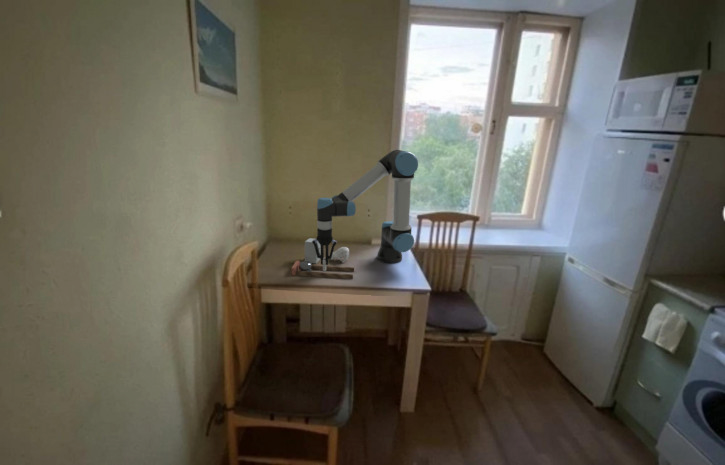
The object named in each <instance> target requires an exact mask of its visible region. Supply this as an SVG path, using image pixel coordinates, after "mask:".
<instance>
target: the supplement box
mask: <svg viewBox="0 0 725 465" xmlns="http://www.w3.org/2000/svg"><path fill="white" fill-rule="evenodd" d="M315 239H316V238H308V239H307V240H305V241H304V261H309V262H311V264H314V265H316V264H318V262H319V261H321V259H320V258H317V254H316V250H315V246H314V244H313V243H312V241H313V240H315ZM317 244H318V248H319V252H320V253H321V245H320V244H319V242H318V241H317Z"/></svg>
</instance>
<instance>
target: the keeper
mask: <svg viewBox="0 0 725 465" xmlns="http://www.w3.org/2000/svg"><path fill="white" fill-rule="evenodd" d="M311 265H312V263H311V262H309V261H305V260H304V261H300V268H299V271H307V272H312V269H311Z"/></svg>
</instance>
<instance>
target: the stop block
mask: <svg viewBox="0 0 725 465" xmlns="http://www.w3.org/2000/svg"><path fill="white" fill-rule="evenodd" d="M300 262H301V260H295V262H293V263H294V264H293V265H292V267H291V276H296V275H295V272H296V271H300V268H299V265H300Z"/></svg>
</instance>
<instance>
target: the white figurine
mask: <svg viewBox="0 0 725 465" xmlns="http://www.w3.org/2000/svg"><path fill="white" fill-rule="evenodd" d="M329 256H330V253H329ZM349 256H350V248H348V247H347V246H341V247H339V248H338V249H336V250H335V251H333V254H332V257H331V261H334V260H335V259H338V260H340V261H341V263H342V264H344V263H345V262H346V261H348V259H349Z"/></svg>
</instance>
